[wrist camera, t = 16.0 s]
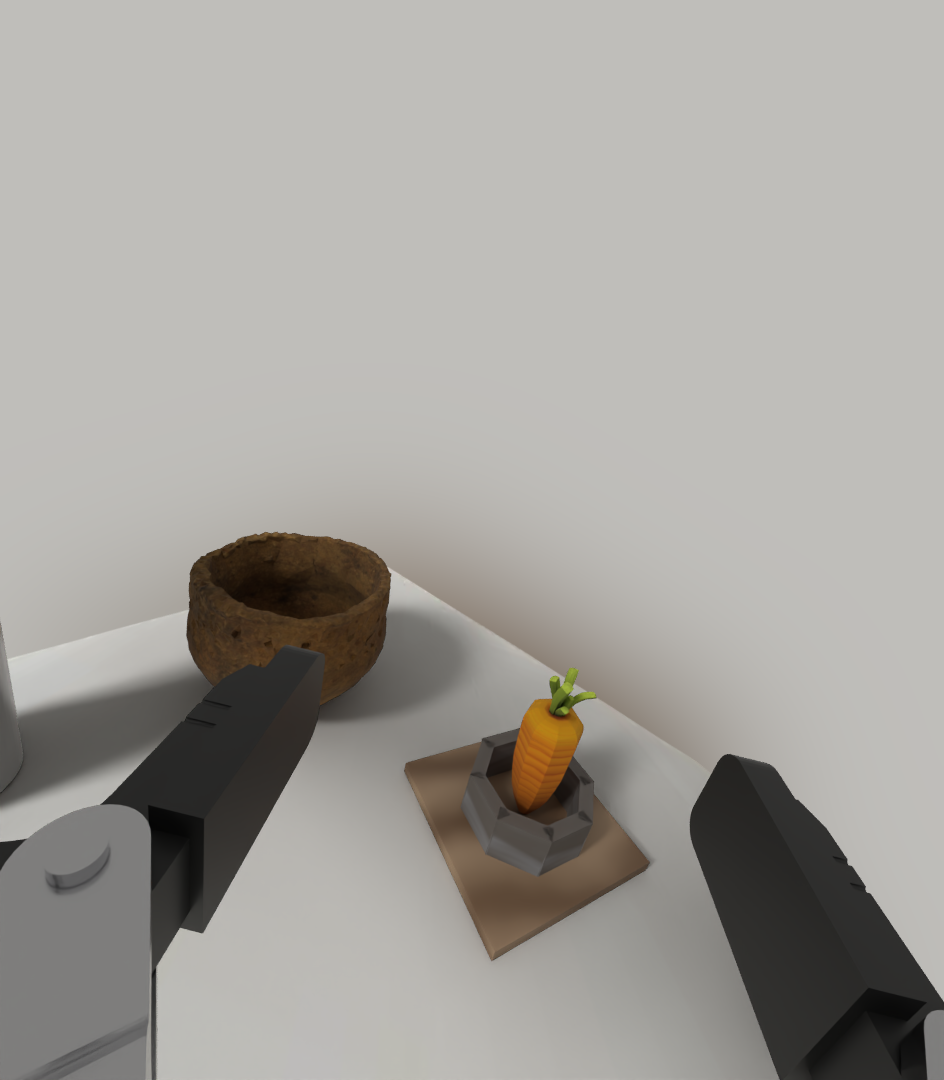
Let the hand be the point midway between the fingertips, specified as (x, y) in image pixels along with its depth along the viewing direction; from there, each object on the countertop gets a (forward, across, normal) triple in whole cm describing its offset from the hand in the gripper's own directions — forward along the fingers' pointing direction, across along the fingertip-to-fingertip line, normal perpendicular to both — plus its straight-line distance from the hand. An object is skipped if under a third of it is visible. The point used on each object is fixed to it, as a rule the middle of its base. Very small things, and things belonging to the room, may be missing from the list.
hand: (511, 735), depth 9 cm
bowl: (+32, +18, +30) cm, 47 cm away
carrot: (+23, -8, +29) cm, 38 cm away
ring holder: (+23, -8, +30) cm, 39 cm away
